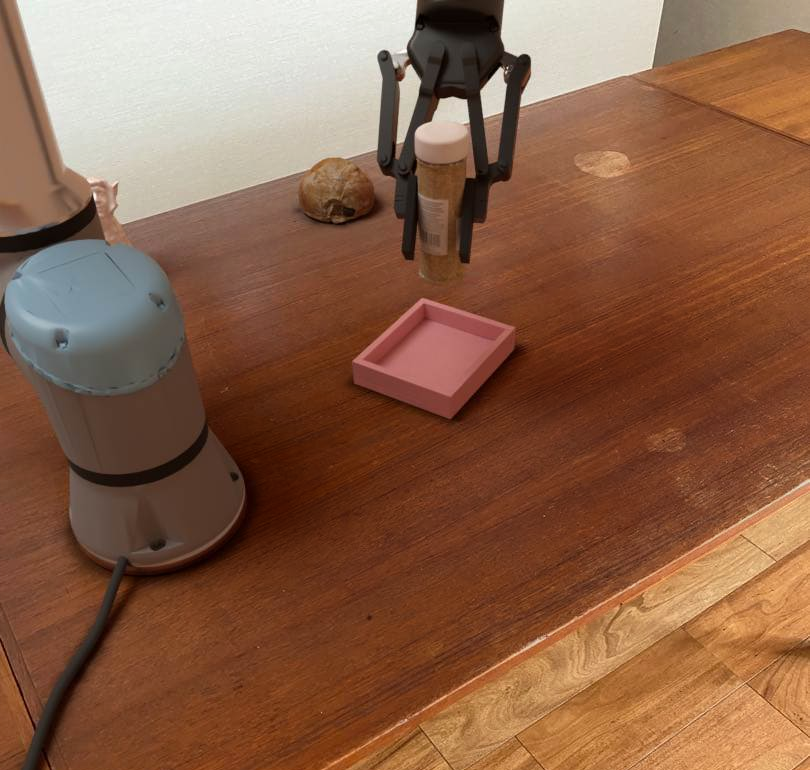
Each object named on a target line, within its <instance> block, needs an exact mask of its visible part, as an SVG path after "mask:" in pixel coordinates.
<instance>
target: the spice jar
mask: <svg viewBox="0 0 810 770" xmlns="http://www.w3.org/2000/svg"><path fill="white" fill-rule="evenodd" d="M469 153H470V131H469V129H468V127H467V126H466V125H464V124H462V123H460V122H457V121H452V120H432V122H428V123H426V124H423V125H421V126H420V127H418V128H417V130H416V132H415V154H416V156H417V158H416V159H417V170H416V175H417V178H418V180H417V181H418V187H417V210H418V223H417V242H418V248H419V249H418V250H419V251H418V253H419V268H418V276H419V279H420V280H421V281H423V282H424V283H425V284H427V285H431V286H434V287H439V288H440V287H443V288H444V287H450V286H454V285H456V284H457V285H458V283H460V282H461V281H463V280H464V278H465V277H466V275H467V267H466V263H461V261H460V257H459V247H460V237H461V226H462V216H463V206H464V196H465V185H466V178H467V161H468V155H469Z"/></svg>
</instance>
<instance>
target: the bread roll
mask: <svg viewBox="0 0 810 770" xmlns="http://www.w3.org/2000/svg"><path fill="white" fill-rule="evenodd" d="M297 194H298V195H297V196H298V204H299V207H300V210H301V211H302V212H303V213H305V214H306V215H307V216H308V217H311V218H313V219H314V220H317V221H319V222H322V223H333V224H335V225H338V224H341V223H343V222H348V221H350V220H351V221H352V220H355V219H357V218H358V217H361V216H365V215H367V214H369V213H370V212H371V210H372V209H373V206H374V204H375V199H376V195H375V187H374V182H373V180H372V178H371V177H370V175H369V174H368V173H367V172H366V171H365V170H364V169H363V168H362V167H361V166H359V165H357V164H355V163H354V162H353V161H351V160H349V159H345V158H343V157H327V158H324V159H322V160H320V161H318V162H317V163H316V164H314V165H313V166H312V167H310V169H309V170H308V172H307V173H306V174H305V175H304V176H303V177H302V178H301V179H300V182H299V183H298V189H297Z"/></svg>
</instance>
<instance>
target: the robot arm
mask: <svg viewBox="0 0 810 770" xmlns="http://www.w3.org/2000/svg"><path fill="white" fill-rule="evenodd" d="M504 9H505V0H416V9H415V18H414V19H415V20H414V27H413V28H414V29H413V33H412V35H411V37H410V39H409V40H408V42H407V44H406V48H402V49H401V50H397V51H395V52H392V53H390V51H389V50H388V49H382V50H380V51H379V52H378V53H377V57H376V58H377V63H378V67H379V71H380V74H381V79H382V81H381V94H380V107H379V108H380V109H379V122H378V138H377V152H376V162H377V164H378V168H379V169H380V171H381V173H382V175H383V176H385V177H390V178H393V179H394V180H395V188H394V189H395V190H394V200H393V211H394V214H395V217H396V219H397V220H403V229H402V239H401V240H402V241H401V250H400V251H401V253H402V256H403V257H404V259H405V261H415V256H416V255H415V253H416V244H417V243H416V242H417V235H418V210H417V187H418V181H417V180H418V178H417V175H418V174H417V159H416V158H417V156H416V154H415V132H416V130H417V128H418V127H420V126H421V125H423V124H426V123H428V122H433V118H434V116H435V112H436V111H437V110H438V107H439V104H440V101H441V100H444V99H449V98H456V99H459V100H466V104H467V105H466V106H467V112H468V113H467V114H468V120H469V121H468V123H469V130H470V138H471V147H472V154H473V164H474V172H475V176H474V177H466V185H465V196H464V206H463V216H462V226H461V237H460V247H459V257H460V261H461V263H465V265H468V264H470V261H471V255H472V254H471V253H472V243H473V233H474V224H485V222H486V220H487V217H488V206H489V198H490V190H491V187H492V186H493V185H494V184H496V183H499V182H504V183H507V182H508V181H510V180H511V179H512V176H513V169H514V159H515V151H516V145H517V144H516V143H517V135H518V127H519V120H520V111H521V104H522V103H521V102H522V96H523V93H524V92H525V90H526V87H527V85H528V83H529V82H530V79H531V77H532V57H531V56H530V54H527V53H521V54H520V55H519V56H517V55H516V54H512V53H510V52H509V51H506V49H505V44H504V42H503V40H502V39H503V38H502V28H503V20H504V19H503V18H504V17H503V16H504ZM409 66H411V67H412V69H413V70H414V72H415V74H416V76H417V78H418V79H419V80H420V85H419V88H418V96H417V99H416V102H415V106H414V109H413V111H412V116H411V118H410V121H409V125H408V128H407V131H406V134H405V137H404V141H403V145H402V148H401V152H400V153H399V157H398V158H397V157H396V156H397V155H396V154H397V142H398V129H399V115H400V102H401V100H400V99H401V88H400V83H401V82H402V81H403V80H404V79H405V78H406V71H407V68H408V67H409ZM500 68H501V69H502V71H503V73H502V76H503V82H504V83H505V84H506V88H505V96H504V103H503V110H502V112H503V113H502V119H501V120H502V121H501V127H500V128H501V129H500V136H499V137H500V138H499V145H498V153H497V160H496V161H494V162H491V163H489V156H488V155H489V153H488V146H487V137H486V129H485V120H484V111H483V104H482V103H483V102H482V96H481V95H482V94H481V92H482V90H483V89H484V87H485V86H486V85H487V84H488V83H489V81H490V80H491V79H492V78H493V76H494V75H495V74H496V73H497V72H498V70H500ZM399 82H400V83H399ZM184 319H185V317H184V313H183V309H182V307H181V305H180V303H179V299H178V297H177V295H176V293H175V291H174V289H173V286H172V282H171V281H170V279H169V277H168V275H167V273H166V272H165V271H164V269H163V268H162V266H161V265H160V264H159V263H158V262H157V261H156V260H155V259H154V258H152V257H151V256H150V255H149V254H147V253H146V252H145V251H142V250H140V249H138V248H136V247H134V246H133V245H132V246H129V245H126V244H123V243H118V244H116V245H114V246H111V245H110V244H109V242H108V241H106V240H105V236H104V232H103V229H102V225H101V222H100V218H99V215H98V211H97V208H96V204H95V200H94V197H93V193H92V190H91V187H90V183H89V182H88V180H87V179H86V177H85V176H84V175H82V174H80V173H78V172H77V171H75V170H74V169H72V168H70V167H68V166H67V165H66V164H65V162H64V160H63V156H62V152H61V149H60V145H59V143H58V139H57V135H56V132H55V129H54V125H53V121H52V118H51V114H50V111H49V107H48V105H47V101H46V98H45V94H44V89H43V87H42V84H41V80H40V77H39V74H38V70H37V67H36V63H35V60H34V57H33V53H32V50H31V46H30V43H29V39H28V36H27V32H26V29H25V26H24V21H23V18H22V15H21V12H20V9H19V5H18V2H17V0H0V345H1V346H2V348H3V349H4V350H5V351H6V353H7V354H8V355H9V356H10V358H11V359H12V361H13V362H14V363H15V364H16V366H17V367H18V369H19V370H20V371H21V373H22V374H23V376H24V377H25V378H26V380H27V381H28V382H29V384H30V385H31V386H32V388H33V389H34V391H35V393H36V394H37V396H38V398H39V400H40V402H41V404H42V406H43V408H44V410H45V413H46V414H47V417H48V420H49V422H50V424H51V426H52V429H53V431H54V433H55V435H56V436H55V437H56V438H57V441H58V443H59V446H60V448H61V450H62V452H63V454H64V457H65V459H66V461H67V463H68V466H69V505H68V516H69V522H70V527H71V530H72V532H73V534H74V537H75V539H76V541H77V544H78V545H79V547H80V549H81V551H82V552H83V554H85V555H86V557H88V558H89V559H90V560H91V561H92V562H94V563H96V564H97V565H99V566H100V567H102V568H105V569H106V570H109V571H112V574H111V577H110V579H109V582H108V585H107V588H106V590H105V593H104V595H103V596H104V597H103V599H102V602H101V604H100V608H99V611H98V614H97V617H96V618H95V620H94V623H93V625H92V627H91V628H90V630H89V632H88V633H87V635H86V637H85V639H84V641H83V642H82V643H81V645H80V647H79V648H78V650H77V651H76V653H74V655H73V657H72V659H71V660H70V661H69V663H68V664H67V666H66V667H65V668H64V670H63V672H62V673H61V675H60V677H59V678H58V680H57V681H56V683H55V685H54V687H53V689H52V691H51V693H50V695H49V697H48V699H47V700H46V703H45V705H44V708H43V710H42V712H41V713H40V714H41V715H40V717H39V719H38V721H37V724H36V727H35V730H34V733H33V736H32V739H31V742H30V745H29V747H28V750H27V753H26V755H25V759H24V763H23V764H22V765H23V766H22V767H21V770H37V769H36V768H37V765H38V763H39V759H40V757H41V753H42V750H43V748H44V745H45V742H46V738H47V736H48V733H49V729H50V727H51V725H52V722H53V719H54V717H55V714H56V712H57V709H58V707H59V706H60V703H61V701H62V699H63V697H64V695H65V693H66V692H67V689H68V688H69V686H70V684H71V683H72V682H73V679H74V678H75V676H76V675H77V673H78V672H79V670H80V669H81V667H82V666H83V664H84V663H85V661H86V660H87V658H88V657H89V656H90V654H91V653H92V650H93V649H94V648H95V646H96V644H97V642H98V640H99V639H100V637H101V635H102V633H103V631H104V629H105V627H106V624H107V623H108V620H109V618H110V615H111V612H112V609H113V606H114V603H115V600H116V596H117V594H118V592H119V588H120V586H121V583H122V580H123V577H124V575H130V576H131V575H133V576H153V575H161V574H167V573H173V572H176V571H179V570H182V569H186V568H188V567H190V566H193V565H195V564H197V563H200V562H202V561H203V560H205V559H207V558H209V557H210V556H212V555H213V554H215V553H216V552H218V551H219V550H221V548H223V547H224V546H225V545H226V544H227V543H228V542H229V541H230V540H231V539H232V538H233V537H234V535H235V534H236V533H237V532H238V530H239V528H240V527H241V525H242V523H243V522H244V520H245V516H246V513H247V509H248V495H247V494H248V493H247V490H246V485H245V480H244V477H243V474H242V472H241V470H240V469H239V467H238V465H237V463H236V462H235V460H234V459H233V457H232V456H231V455H230V453H229V452H228V451H227V450H226V448H225V446H224V445H223V444H222V442H221V441H220V440H219V439H218V437H217V436H216V434H215V433H214V432H213V431H212V429H211V428H210V426H209V423H208V418H207V415H206V411H205V406H204V402H203V399H202V394H201V391H200V385H199V382H198V378H197V374H196V370H195V366H194V362H193V358H192V354H191V350H190V345H189V342H188V341H189V340H188V338H187V334H186V329H185V327H186V323H185V320H184Z"/></svg>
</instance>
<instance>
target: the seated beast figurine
mask: <svg viewBox="0 0 810 770" xmlns="http://www.w3.org/2000/svg"><path fill="white" fill-rule="evenodd" d="M85 178H86V177H85ZM86 179H87V180H88V182H89V183H90V187H91V190H92V193H93V197H94V200H95V204H96V208H97V211H98V215H99V218H100V222H101V225H102V229H103V232H104V236H105V240H106V241H108V242H109V244H110V245H111V246H114V245H116V244H118V243H123V244H126V245H129V246H132V247H133V245H132V242H131V241H130V240H129V238H128V237H127V234H126V233H125V230H124V228H123V226H122V223H121V222H119V220H118V219H117V218H116V216H115V211H116V210H117V209H118V207H119V204H118V201H117V196H118V191H119V183H120V180H115V181H114V182H113V183H111V184H110V183H109V182H108V180H106V179H104V178H101V177H97V176H89V177H87V178H86Z"/></svg>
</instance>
